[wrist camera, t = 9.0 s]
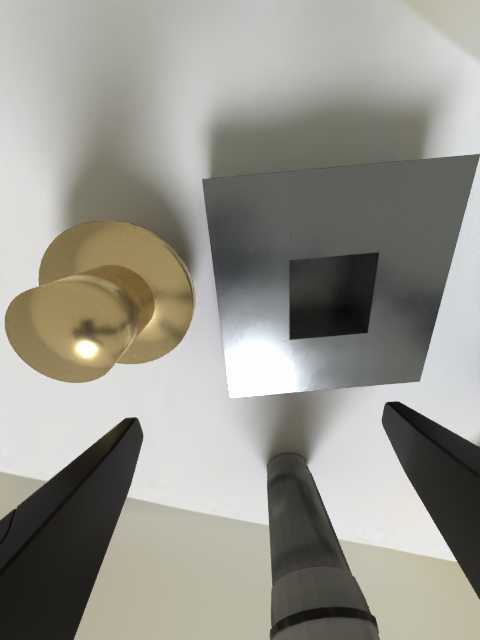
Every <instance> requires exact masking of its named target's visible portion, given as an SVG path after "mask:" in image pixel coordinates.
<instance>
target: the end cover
mask: <svg viewBox="0 0 480 640" xmlns="http://www.w3.org/2000/svg"><path fill="white" fill-rule="evenodd" d="M194 309H195V289H194V285H193V281H192V278H191V275H190V273H189V270H188V269H187V267H186V265H185V263H184V261H183V260H182V259H181V257H180V256H179V254H178V253H177V252H176V251H175V250H174V249H173V248H172V247H171V246H170V245H169V244H168V243H167V242H166V241H165V240H163V239H162V238H161V237H159V236H158V235H156V234H155V233H153V232H151V231H149V230H147V229H145V228H142V227H140V226H137V225H134V224H130V223H126V222H118V221H93V222H87V223H82V224H79V225H76V226H73V227H71V228H70V229H68V230H66V231H64V232H63V233H61V234H60V235H59V236H57V237H56V238H55V240H54V241H53V242H52V243H51V244H50V245H49V247H48V248H47V250H46V252H45V254H44V256H43V258H42V261H41V265H40V269H39V287H36V288H33V289H30V290H27V291H25V292H23V293H21V294H20V295H18V296H17V297H16V298H15V299H14V300H13V301H12V302H11V303H10V305H9V307H8V309H7V311H6V315H5V330H6V334H7V337H8V339H9V342H10V344H11V346H12V347H13V349H14V350H15V352H16V353H17V354H18V356H19V357H20V358H21V359H22V360H23V361H24V362H25V363H27V364H28V365H29V366H30V367H32V368H33V369H34V370H36V371H38V372H39V373H41V374H43V375H45V376H47V377H50V378H53V379H55V380H59V381H64V382H71V383H82V382H89V381H92V380H95V379H98V378H100V377H101V376H103V375H105V374H106V373H107V372H108V371H109V370H110V369H111V368H112V367H113V366H114V364H115V363H121V364H139V363H146V362H149V361H153V360H156V359H158V358H160V357H162V356H164V355H166V354H167V353H169V352H170V351H171V350H173V349H174V348H175V347H176V346H177V345H178V344H179V343H180V342H181V340H182V339H183V337H184V336H185V334H186V332H187V330H188V328H189V325H190V323H191V320H192V318H193V315H194Z"/></svg>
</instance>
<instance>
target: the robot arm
mask: <svg viewBox="0 0 480 640" xmlns="http://www.w3.org/2000/svg"><path fill="white" fill-rule="evenodd" d="M382 424H383V427H384V429H385V431H386V434H387V436H388V438H389V440H390V442H391V444H392V446H393V448H394V451H395V453H396V455H397V457H398V459H399V461H400V463H401V465H402V467H403V469H404V471H405V473H406V475H407V477H408V478H409V480H410V482H411V483H412V485H413V487H414V489H415V490H416V492H417V494H418V495H419V497H420V499H421V500H422V502H423V504H424V506H425V507H426V509H427V511H428V512H429V514H430V516H431V517H432V519H433V521H434V523H435V524H436V526H437V528H438V529H439V531H440V533H441V534H442V536H443V538H444V540H445V541H446V543H447V545H448V546H449V548H450V550H451V551H452V553H453V555H454V557H455V558H456V560H457V562H458V563H459V565H460V567H461V568H462V570H463V572H464V573H465V575H466V577H467V579H468V580H469V582H470V584H471V585H472V587H473V589H474V591H475V592H476V594H477V596H478V597H479V599H480V447H478V446H476V445H475V444H473V443H471V442H469V441H468V440H466V439H464V438H462V437H461V436H459V435H457V434H455V433H453V432H452V431H450V430H448V429H446V428H445V427H443V426H441V425H439V424H438V423H436V422H434V421H432V420H430V419H429V418H427V417H425V416H423V415H422V414H420V413H418V412H416V411H415V410H413V409H411V408H409V407H407V406H406V405H404V404H402V403H400V402H387V403H386V404H385V406H384V411H383V416H382ZM142 442H143V432H142V429H141V425H140V422H139V420H138V418H136V417H133V418H125V419H124V420H123V421H121V422H120V423H119V424H118V425H116V426H115V427H114V428H113V429H112V430H110V431H109V432H108V433H107V434H105V435H104V436H103V437H102V438H101V439H99V440H98V441H97V442H96V443H94V444H93V445H92V446H91V447H89V448H88V449H87V450H86V451H85V452H83V453H82V454H81V455H80V456H78V457H77V458H76V459H75V460H74V461H72V462H71V463H70V464H69V465H67V466H66V467H65V468H64V469H63V470H61V471H60V472H59V473H58V474H56V475H55V476H54V477H53V478H52V479H50V480H49V481H48V482H47V483H46V484H44V485H43V486H42V487H41V488H39V489H38V490H37V491H36V492H34V493H33V494H32V495H31V496H29V497H28V498H27V499H26V500H25V501H23V502H22V503H21V504H20V505H18V506H17V509H14V510H12V511H11V512H10V513H9V514H8V515H6V516H5V517H4V518H3V519H1V520H0V640H74V637H75V635H76V632H77V629H78V627H79V624H80V621H81V619H82V616H83V613H84V610H85V608H86V605H87V602H88V600H89V597H90V594H91V592H92V589H93V586H94V583H95V581H96V578H97V575H98V573H99V570H100V567H101V564H102V562H103V559H104V556H105V554H106V551H107V548H108V545H109V543H110V540H111V537H112V535H113V532H114V529H115V527H116V524H117V521H118V518H119V516H120V513H121V510H122V508H123V505H124V502H125V500H126V497H127V494H128V491H129V488H130V486H131V482H132V479H133V475H134V472H135V468H136V464H137V460H138V457H139V453H140V449H141V445H142Z"/></svg>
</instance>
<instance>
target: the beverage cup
mask: <svg viewBox="0 0 480 640" xmlns="http://www.w3.org/2000/svg"><path fill="white" fill-rule="evenodd" d="M267 492H268V511H269V530H270V548H271V567H272V593H271V625H272V628H271V630H270V640H380V638H379V635H378V634H379V631H378V626H377V622H376V618H375V617H374V616H373V615H371V613H370V610H369V607H368V605H367V602H366V599H365V597H364V595H363V593H362V591H361V589H360V587H359V585H358V583H357V581H356V579H355V577H354V576H352V573H351V571H350V568H349V566H348V564H347V561H346V558H345V556H344V554H343V551H342V549H341V546H340V544H339V541H338V539H337V536H336V534H335V531H334V529H333V526H332V524H331V521H330V519H329V516H328V514H327V511H326V509H325V506H324V504H323V501H322V499H321V496H320V494H319V491H318V489H317V486H316V484H315V481H314V479H313V476H312V474H311V473H310V471H309V468H308V466H307V464H306V461H305V459H304V458H303V457H302V456H300V455H297V454H293V453H285V454H281V455H278V456H276V457H274V458H273V459H272V460H270V461H269V463H268V465H267Z"/></svg>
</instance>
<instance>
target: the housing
mask: <svg viewBox="0 0 480 640" xmlns="http://www.w3.org/2000/svg"><path fill="white" fill-rule="evenodd" d="M479 157H480V154H475V155H464V156H453V157H442V158H431V159H420V160H409V161H398V162H387V163H376V164H365V165H354V166H343V167H332V168H321V169H310V170H299V171H288V172H277V173H266V174H255V175H244V176H233V177H222V178H211V179H202V181H203V189H204V197H205V205H206V213H207V221H208V229H209V236H210V244H211V252H212V260H213V268H214V276H215V284H216V292H217V300H218V308H219V316H220V324H221V331H222V339H223V347H224V355H225V363H226V371H227V379H228V387H229V395H230V398H235V397H246V396H258V395H269V394H281V393H292V392H304V391H315V390H327V389H338V388H350V387H361V386H373V385H384V384H396V383H407V382H419V381H420V378H421V375H422V371H423V367H424V363H425V360H426V356H427V352H428V348H429V344H430V341H431V337H432V333H433V329H434V326H435V322H436V318H437V314H438V311H439V307H440V303H441V299H442V296H443V292H444V288H445V284H446V281H447V277H448V273H449V269H450V266H451V262H452V258H453V254H454V251H455V247H456V243H457V239H458V236H459V232H460V228H461V224H462V221H463V217H464V213H465V209H466V206H467V202H468V198H469V194H470V191H471V187H472V183H473V179H474V176H475V172H476V168H477V164H478V161H479Z"/></svg>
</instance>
